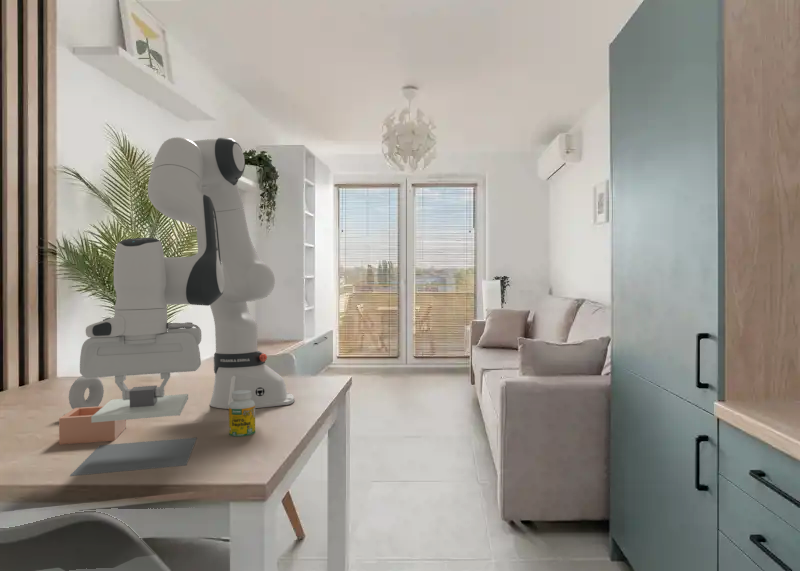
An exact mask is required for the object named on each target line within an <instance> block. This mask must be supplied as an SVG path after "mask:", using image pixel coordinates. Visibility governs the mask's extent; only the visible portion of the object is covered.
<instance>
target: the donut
mask: <svg viewBox="0 0 800 571" xmlns="http://www.w3.org/2000/svg"><path fill="white" fill-rule="evenodd" d="M87 389H88V396H87V398H86V399H85V393H86V390H87ZM104 391H105V390H104V385H103V382H102V380H101V379H100V377H97V378H84V377H83V376H82V375H81V376H79V377H78V378H77V379H75V380H74V381H73V383H72V385H71V386H70V389H69V393H68V401H69V403H68V404H69V405H70V407H71V410H73V409H74V408H80V407H96V406H99V405H100V404H101V402H102V400H103V398H104Z"/></svg>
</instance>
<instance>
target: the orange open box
mask: <svg viewBox="0 0 800 571" xmlns="http://www.w3.org/2000/svg"><path fill="white" fill-rule="evenodd" d="M103 406H104V405H102V406H101V405H100V406H96V407H80V408H74V409H71V410H70V411H68V412H67V413H65V414H64V415H62V416H61V417H59V419H58V424H59V425H58V432H59V433H58V434H59V435H58V437H59V438H58V441H59V442H58V445H59V446H60V445H64V446H65V445H75V444H76V445H77V444H87V443H90V444H91V443H101V442H115V441H116V440H118V438H119V437H120V435H121V434H122V433H124V431H125V430H126V429H127V420H117V421H105V422H93V423H91V417H92V416H93V415H94V414H95V413H96V412H98V411H99V410H100V409H101V408H102V407H103Z"/></svg>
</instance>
